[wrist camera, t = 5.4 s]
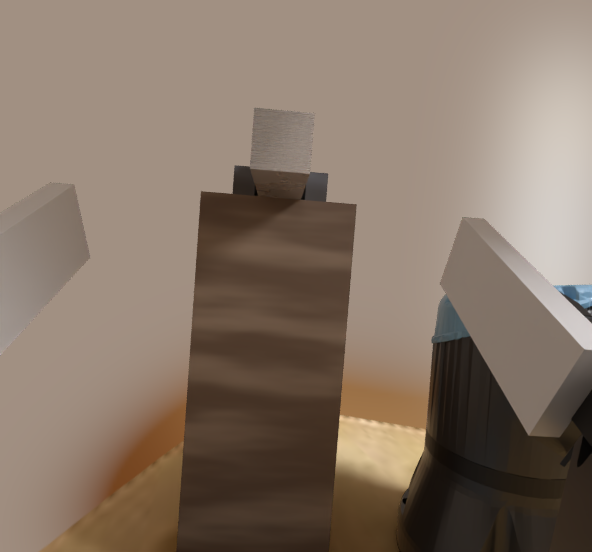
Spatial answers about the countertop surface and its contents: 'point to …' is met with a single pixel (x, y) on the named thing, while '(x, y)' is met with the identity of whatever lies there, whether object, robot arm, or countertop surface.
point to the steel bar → (281, 152)
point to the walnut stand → (265, 370)
